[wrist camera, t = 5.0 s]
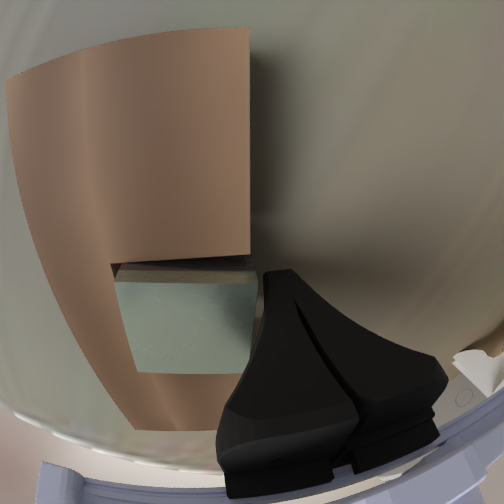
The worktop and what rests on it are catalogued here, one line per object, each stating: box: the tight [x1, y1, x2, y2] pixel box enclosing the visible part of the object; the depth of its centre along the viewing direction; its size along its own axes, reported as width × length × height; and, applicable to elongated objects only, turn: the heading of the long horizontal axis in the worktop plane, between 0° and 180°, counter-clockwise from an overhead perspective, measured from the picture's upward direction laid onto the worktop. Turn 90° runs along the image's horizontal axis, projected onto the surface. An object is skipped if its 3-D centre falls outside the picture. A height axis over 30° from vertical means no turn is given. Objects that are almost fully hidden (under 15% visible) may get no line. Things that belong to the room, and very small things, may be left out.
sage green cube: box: [114, 252, 259, 374], centre depth 10 cm, size 4×4×4 cm
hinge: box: [377, 372, 487, 482], centre depth 23 cm, size 17×5×10 cm, turn 137°
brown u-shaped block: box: [6, 28, 250, 431], centre depth 11 cm, size 7×18×3 cm, turn 0°
